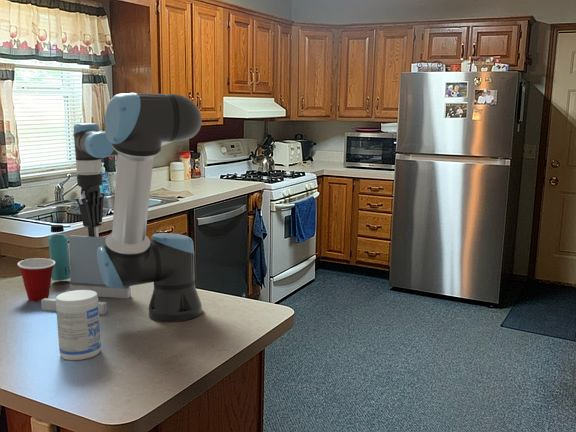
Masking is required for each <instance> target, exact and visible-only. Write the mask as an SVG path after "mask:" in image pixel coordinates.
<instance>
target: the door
mask: <svg viewBox="0 0 576 432" xmlns="http://www.w3.org/2000/svg"><path fill="white" fill-rule="evenodd" d="M106 237H107V236H99V237H94V236H89V235H87V236H86V235H69V236H68V248H69V262H70V278H69V279H70V281H69V282H70V285H88V286H103V287H107V286H106V285H105V283H104V282H103V280H102V277H101V274H100V271H99V267H98V262H97V249H98V248H99V247H101V246H105V240H106ZM130 287H131V286H127V287H124V288H130Z"/></svg>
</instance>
